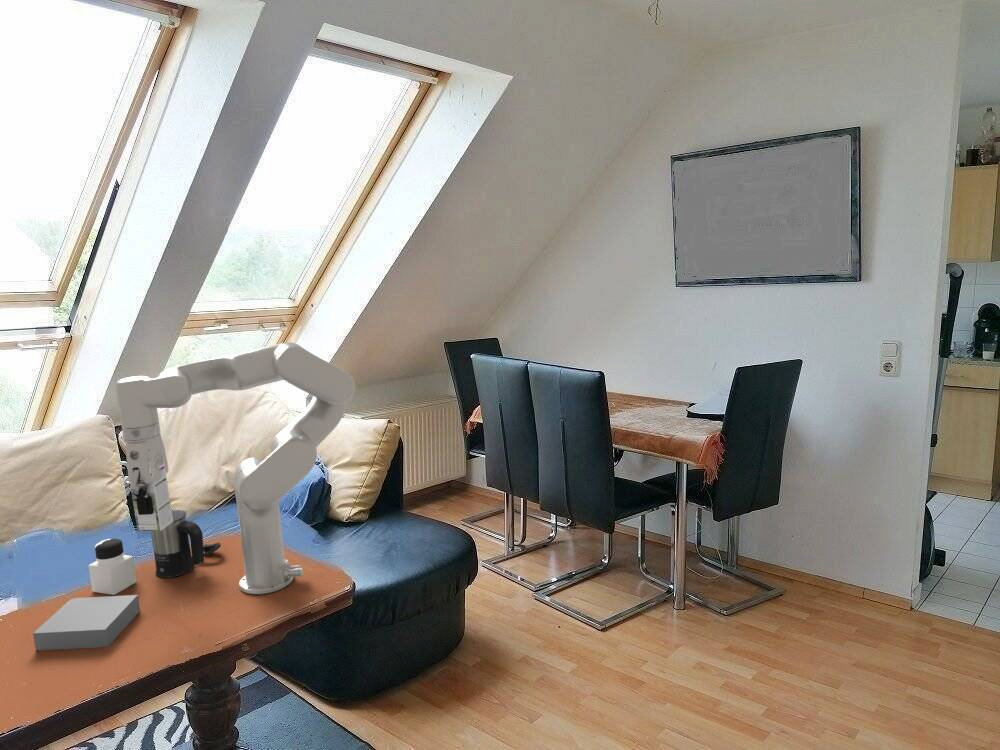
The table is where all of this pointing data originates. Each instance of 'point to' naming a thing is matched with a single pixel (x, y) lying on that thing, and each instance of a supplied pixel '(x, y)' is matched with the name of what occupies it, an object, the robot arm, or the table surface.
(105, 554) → the medicine bottle
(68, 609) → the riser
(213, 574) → the table surface
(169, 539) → the milk frother
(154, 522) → the syrup box
